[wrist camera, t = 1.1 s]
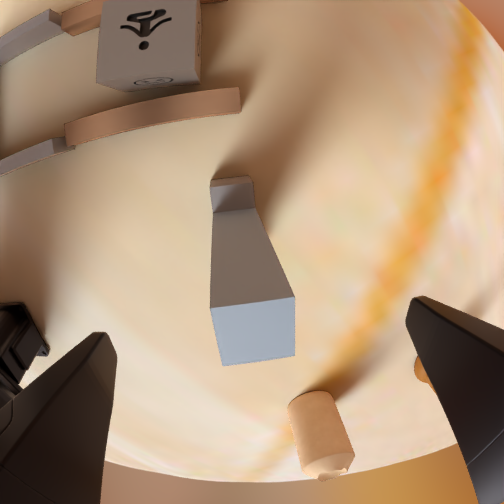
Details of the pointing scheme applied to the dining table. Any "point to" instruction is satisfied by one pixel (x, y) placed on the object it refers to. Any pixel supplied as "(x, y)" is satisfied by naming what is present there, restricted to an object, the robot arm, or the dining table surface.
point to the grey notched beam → (247, 280)
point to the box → (8, 49)
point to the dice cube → (149, 44)
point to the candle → (320, 436)
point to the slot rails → (145, 111)
